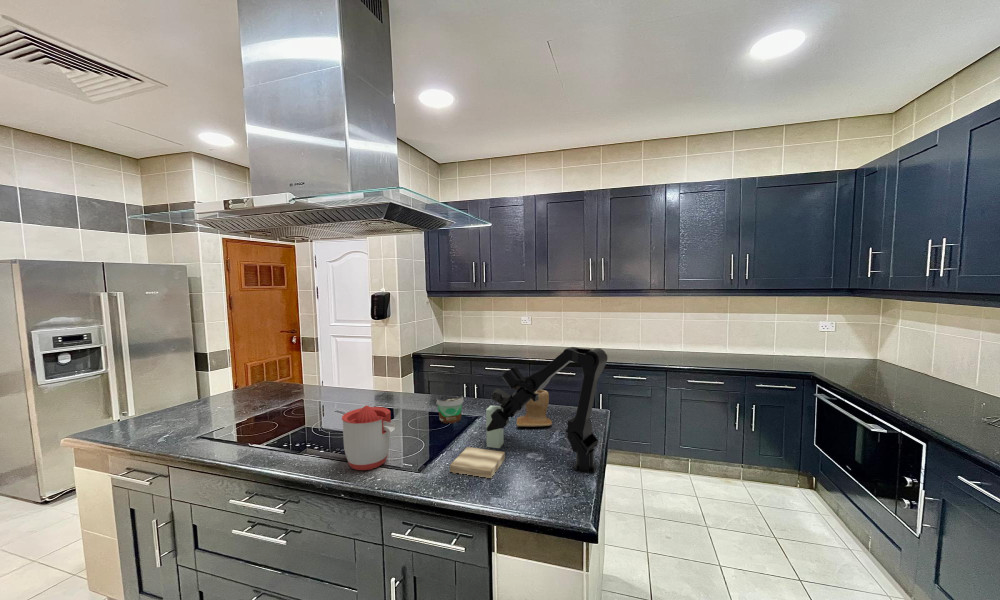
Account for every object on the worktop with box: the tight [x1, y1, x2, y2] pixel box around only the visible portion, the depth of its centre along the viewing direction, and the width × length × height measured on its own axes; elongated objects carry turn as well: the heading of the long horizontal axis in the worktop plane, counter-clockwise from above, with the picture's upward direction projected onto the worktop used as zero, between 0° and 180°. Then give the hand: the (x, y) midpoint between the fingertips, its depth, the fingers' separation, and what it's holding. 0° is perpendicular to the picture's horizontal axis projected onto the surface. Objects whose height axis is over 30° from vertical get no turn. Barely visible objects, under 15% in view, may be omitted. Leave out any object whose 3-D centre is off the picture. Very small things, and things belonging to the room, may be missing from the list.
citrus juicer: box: [341, 405, 396, 471], centre depth 130 cm, size 16×17×20 cm
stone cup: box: [515, 389, 553, 428], centre depth 163 cm, size 15×12×15 cm
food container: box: [435, 396, 464, 424], centre depth 168 cm, size 12×6×10 cm, turn 114°
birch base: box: [449, 446, 506, 479], centre depth 127 cm, size 14×14×2 cm
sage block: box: [485, 405, 505, 449], centre depth 143 cm, size 5×5×14 cm
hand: (491, 425), depth 143 cm, fingers open, 9 cm apart
